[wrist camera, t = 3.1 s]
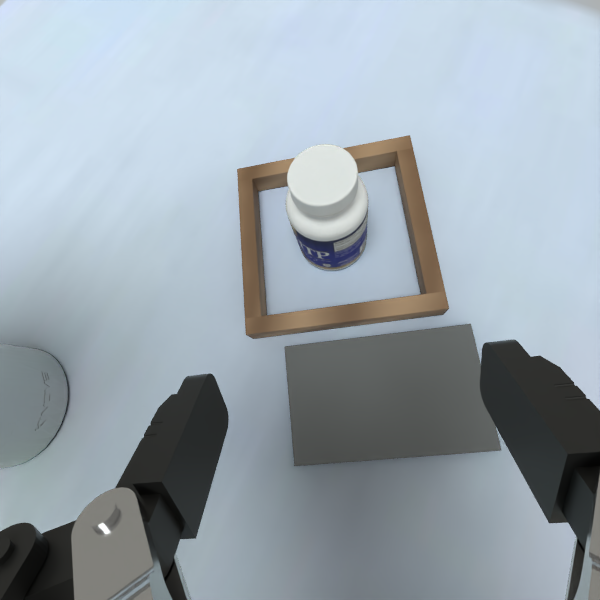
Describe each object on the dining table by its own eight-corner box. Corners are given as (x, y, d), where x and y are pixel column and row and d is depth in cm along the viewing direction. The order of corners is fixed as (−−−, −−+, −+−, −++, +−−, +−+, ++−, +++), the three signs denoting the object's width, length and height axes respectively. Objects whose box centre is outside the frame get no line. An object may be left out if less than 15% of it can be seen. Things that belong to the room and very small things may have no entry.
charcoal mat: (296, 464, 24) (294, 466, 23) (286, 347, 26) (284, 346, 25) (497, 449, 22) (501, 450, 21) (468, 325, 24) (470, 323, 24)
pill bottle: (287, 242, 28) (256, 176, 20) (333, 199, 29) (322, 117, 20) (332, 286, 27) (319, 234, 18) (381, 240, 27) (390, 168, 19)
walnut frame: (253, 338, 27) (245, 334, 25) (244, 181, 31) (237, 169, 29) (442, 314, 25) (449, 308, 23) (407, 150, 29) (409, 135, 27)
